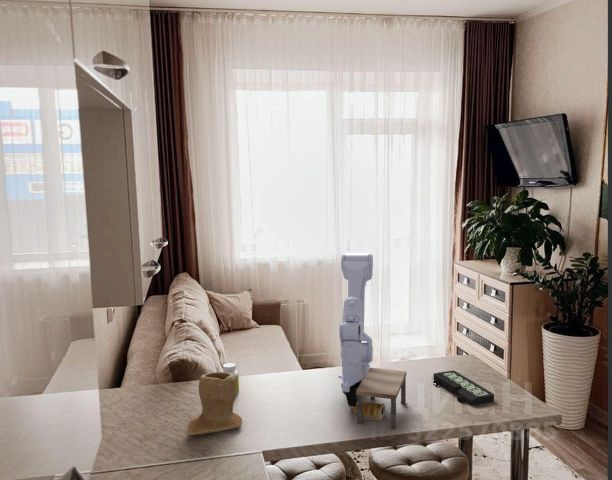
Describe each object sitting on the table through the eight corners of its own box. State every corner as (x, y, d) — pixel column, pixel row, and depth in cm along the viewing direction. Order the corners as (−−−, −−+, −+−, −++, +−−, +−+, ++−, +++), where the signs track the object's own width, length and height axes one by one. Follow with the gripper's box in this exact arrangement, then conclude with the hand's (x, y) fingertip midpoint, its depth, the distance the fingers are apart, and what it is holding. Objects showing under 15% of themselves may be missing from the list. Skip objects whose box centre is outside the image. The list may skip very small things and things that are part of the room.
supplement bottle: (237, 397, 164) (236, 368, 163) (220, 397, 164) (219, 368, 163) (240, 390, 169) (239, 361, 168) (223, 390, 169) (222, 362, 168)
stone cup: (237, 413, 153) (235, 364, 151) (245, 432, 142) (242, 379, 140) (184, 422, 148) (182, 371, 146) (188, 442, 137) (185, 387, 135)
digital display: (428, 372, 173) (454, 369, 176) (428, 382, 173) (453, 378, 176) (467, 398, 153) (495, 393, 156) (466, 408, 153) (495, 403, 156)
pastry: (349, 417, 149) (349, 404, 149) (357, 407, 155) (357, 395, 155) (381, 422, 145) (381, 409, 145) (387, 412, 151) (387, 400, 151)
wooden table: (370, 397, 161) (370, 367, 160) (406, 401, 157) (406, 371, 156) (356, 423, 144) (356, 390, 143) (396, 429, 141) (395, 395, 139)
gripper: (345, 352, 160) (345, 394, 162) (331, 368, 147) (332, 414, 148) (367, 354, 158) (368, 396, 160) (355, 371, 144) (356, 417, 146)
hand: (352, 405), depth 154 cm, fingers closed
